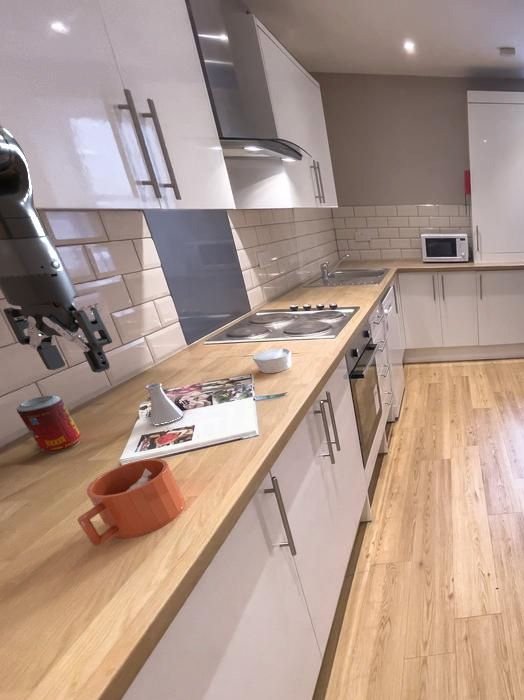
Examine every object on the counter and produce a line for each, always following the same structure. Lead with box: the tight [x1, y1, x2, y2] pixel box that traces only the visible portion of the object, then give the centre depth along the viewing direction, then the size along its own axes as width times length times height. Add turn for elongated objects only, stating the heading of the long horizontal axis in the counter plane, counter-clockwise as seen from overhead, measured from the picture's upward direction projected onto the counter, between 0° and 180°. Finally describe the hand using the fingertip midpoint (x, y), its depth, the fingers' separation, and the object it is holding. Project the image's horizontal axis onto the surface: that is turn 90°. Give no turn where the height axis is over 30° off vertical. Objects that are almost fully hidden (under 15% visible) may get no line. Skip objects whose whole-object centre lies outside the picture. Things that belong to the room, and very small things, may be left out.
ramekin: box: [252, 347, 292, 374], centre depth 138 cm, size 11×11×5 cm
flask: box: [145, 382, 184, 424], centre depth 106 cm, size 7×7×10 cm
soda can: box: [16, 394, 81, 454], centre depth 94 cm, size 7×7×12 cm
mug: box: [77, 458, 186, 547], centre depth 72 cm, size 14×11×9 cm
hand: (79, 369), depth 68 cm, fingers open, 8 cm apart
